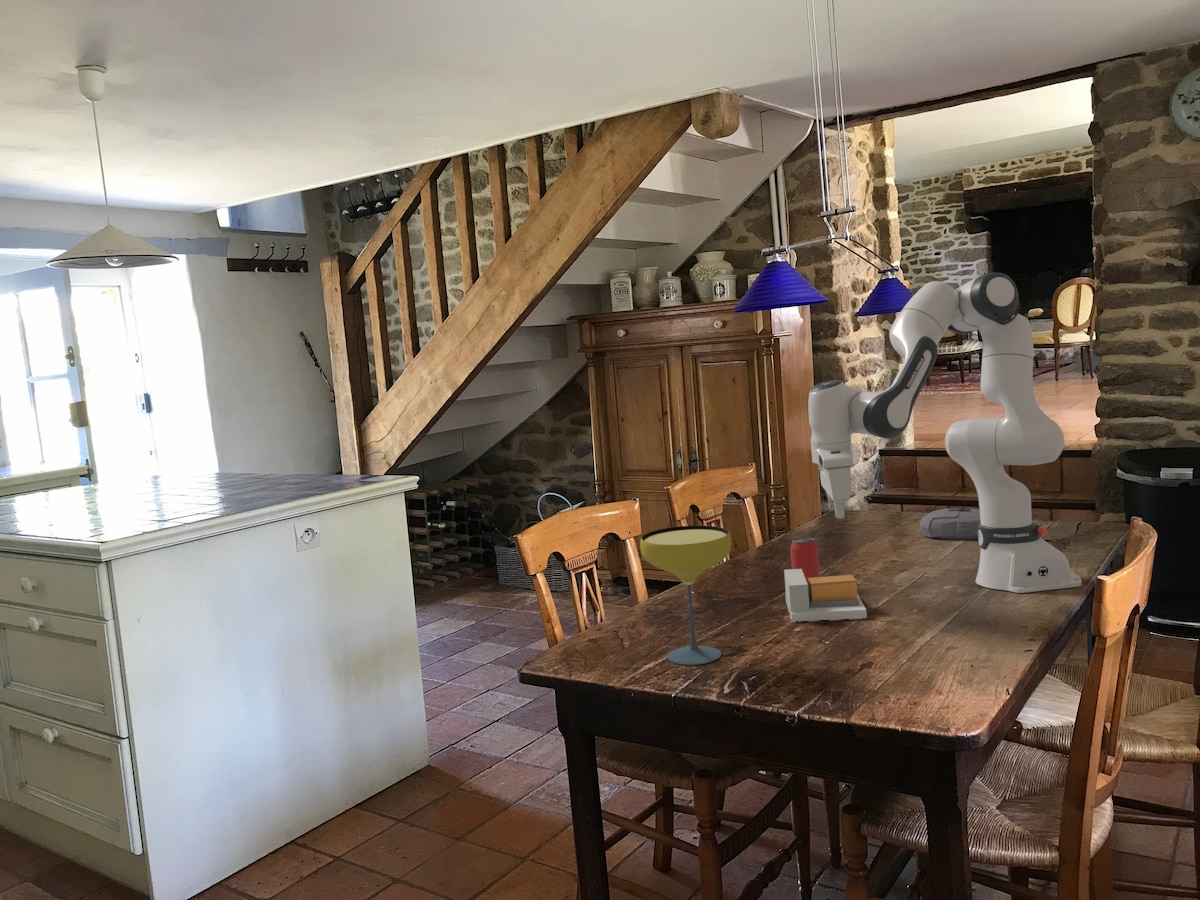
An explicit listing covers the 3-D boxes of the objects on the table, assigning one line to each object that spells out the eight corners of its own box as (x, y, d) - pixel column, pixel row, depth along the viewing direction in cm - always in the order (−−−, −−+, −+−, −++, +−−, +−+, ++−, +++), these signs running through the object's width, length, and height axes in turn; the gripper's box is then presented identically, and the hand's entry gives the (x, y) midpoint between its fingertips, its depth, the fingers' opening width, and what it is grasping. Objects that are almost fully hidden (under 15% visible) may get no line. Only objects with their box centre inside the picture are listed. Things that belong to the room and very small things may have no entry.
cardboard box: (853, 596, 214) (851, 574, 214) (857, 602, 209) (856, 580, 209) (808, 599, 215) (807, 577, 214) (812, 605, 210) (811, 583, 209)
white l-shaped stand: (855, 598, 219) (853, 564, 218) (866, 618, 204) (864, 582, 203) (786, 601, 221) (783, 568, 220) (791, 622, 206) (789, 586, 205)
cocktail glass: (738, 671, 179) (728, 542, 176) (644, 673, 182) (633, 547, 179) (740, 640, 197) (732, 523, 194) (655, 642, 200) (645, 527, 197)
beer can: (820, 590, 229) (817, 541, 227) (793, 591, 230) (789, 543, 229) (819, 583, 235) (816, 536, 234) (793, 583, 236) (790, 537, 235)
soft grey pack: (994, 530, 275) (922, 530, 284) (993, 502, 275) (921, 503, 283) (993, 541, 262) (917, 541, 270) (991, 512, 261) (916, 513, 269)
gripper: (811, 448, 222) (816, 505, 224) (824, 462, 202) (829, 524, 204) (838, 445, 221) (843, 502, 223) (853, 459, 201) (858, 521, 203)
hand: (836, 513), depth 214 cm, fingers open, 8 cm apart
